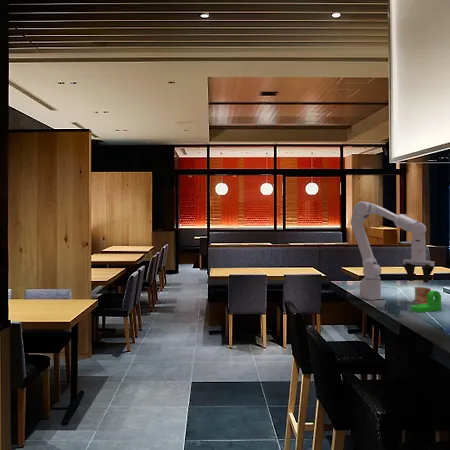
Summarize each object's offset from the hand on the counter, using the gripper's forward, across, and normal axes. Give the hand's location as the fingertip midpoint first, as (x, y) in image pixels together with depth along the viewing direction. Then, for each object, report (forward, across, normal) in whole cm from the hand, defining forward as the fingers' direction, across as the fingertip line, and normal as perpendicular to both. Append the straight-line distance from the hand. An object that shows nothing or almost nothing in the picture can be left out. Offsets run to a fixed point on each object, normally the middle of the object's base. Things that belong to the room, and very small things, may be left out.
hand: (418, 281), depth 220 cm
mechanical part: (+10, +13, -13) cm, 21 cm away
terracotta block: (+8, +5, -3) cm, 10 cm away
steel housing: (+9, -1, +3) cm, 10 cm away
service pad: (+9, +5, -3) cm, 11 cm away
